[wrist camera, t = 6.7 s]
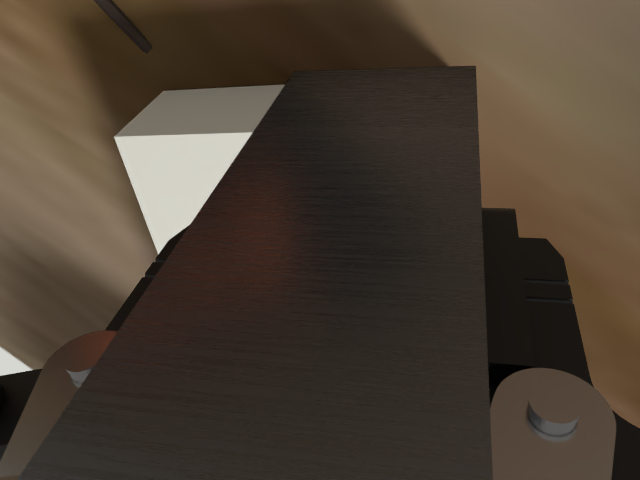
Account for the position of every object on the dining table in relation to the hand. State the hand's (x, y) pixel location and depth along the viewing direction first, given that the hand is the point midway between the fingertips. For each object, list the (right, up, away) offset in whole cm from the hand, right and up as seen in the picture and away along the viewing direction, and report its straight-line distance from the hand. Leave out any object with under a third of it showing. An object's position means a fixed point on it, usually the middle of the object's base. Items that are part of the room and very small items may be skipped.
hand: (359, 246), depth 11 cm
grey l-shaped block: (+1, +1, +4) cm, 4 cm away
